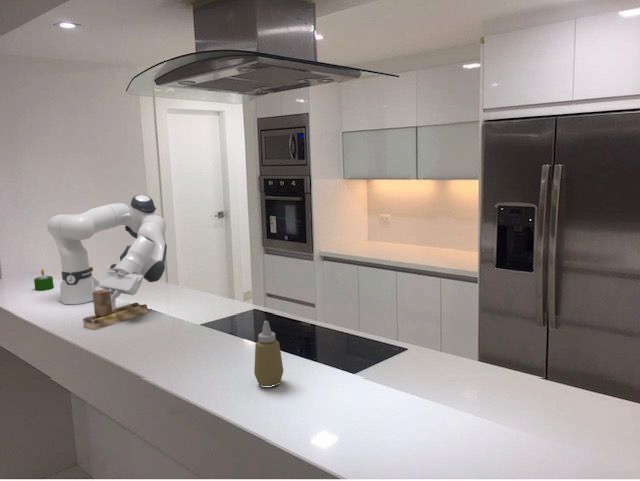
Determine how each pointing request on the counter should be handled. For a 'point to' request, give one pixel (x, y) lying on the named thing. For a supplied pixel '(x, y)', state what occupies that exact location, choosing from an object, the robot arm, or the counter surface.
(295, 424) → the counter surface
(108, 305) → the plate
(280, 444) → the counter surface
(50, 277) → the candle
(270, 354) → the squeeze bottle
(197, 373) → the counter surface
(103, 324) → the beam
